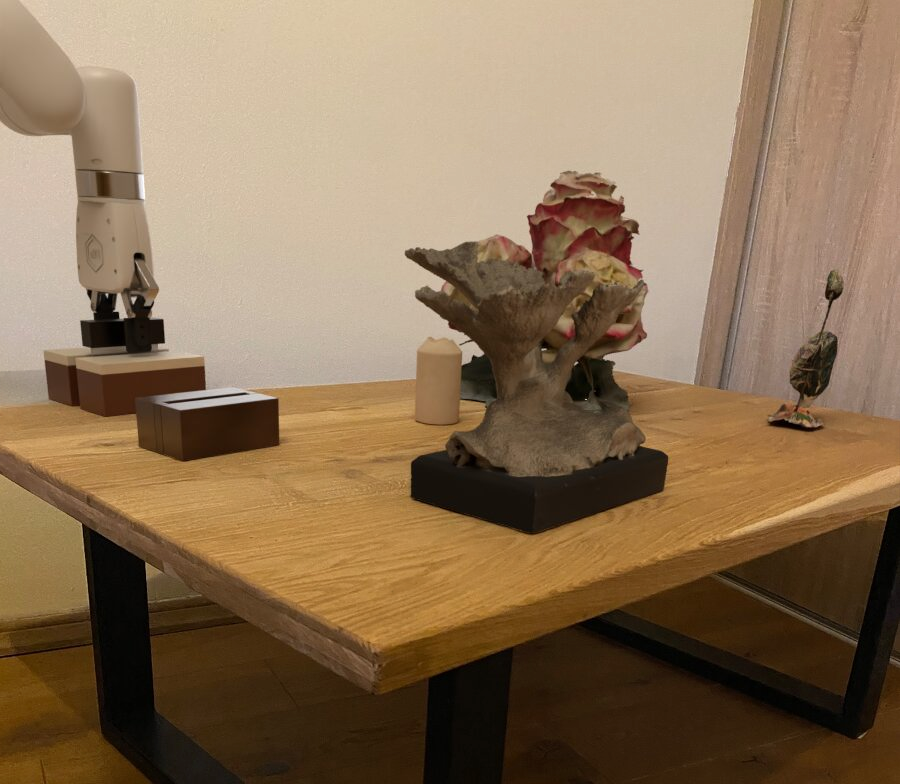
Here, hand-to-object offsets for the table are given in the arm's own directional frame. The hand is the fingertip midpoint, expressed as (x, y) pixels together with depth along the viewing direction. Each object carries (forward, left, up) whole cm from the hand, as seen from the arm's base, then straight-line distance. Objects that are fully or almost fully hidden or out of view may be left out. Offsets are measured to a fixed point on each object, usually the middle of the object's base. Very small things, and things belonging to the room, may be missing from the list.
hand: (123, 347), depth 115 cm
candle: (+24, -31, -7) cm, 40 cm away
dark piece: (0, 0, -7) cm, 7 cm away
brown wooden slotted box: (-6, -26, -7) cm, 28 cm away
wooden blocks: (0, 0, -7) cm, 7 cm away
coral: (+5, -57, -7) cm, 58 cm away
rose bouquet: (+47, -32, -7) cm, 57 cm away
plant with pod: (+64, -61, -7) cm, 89 cm away
